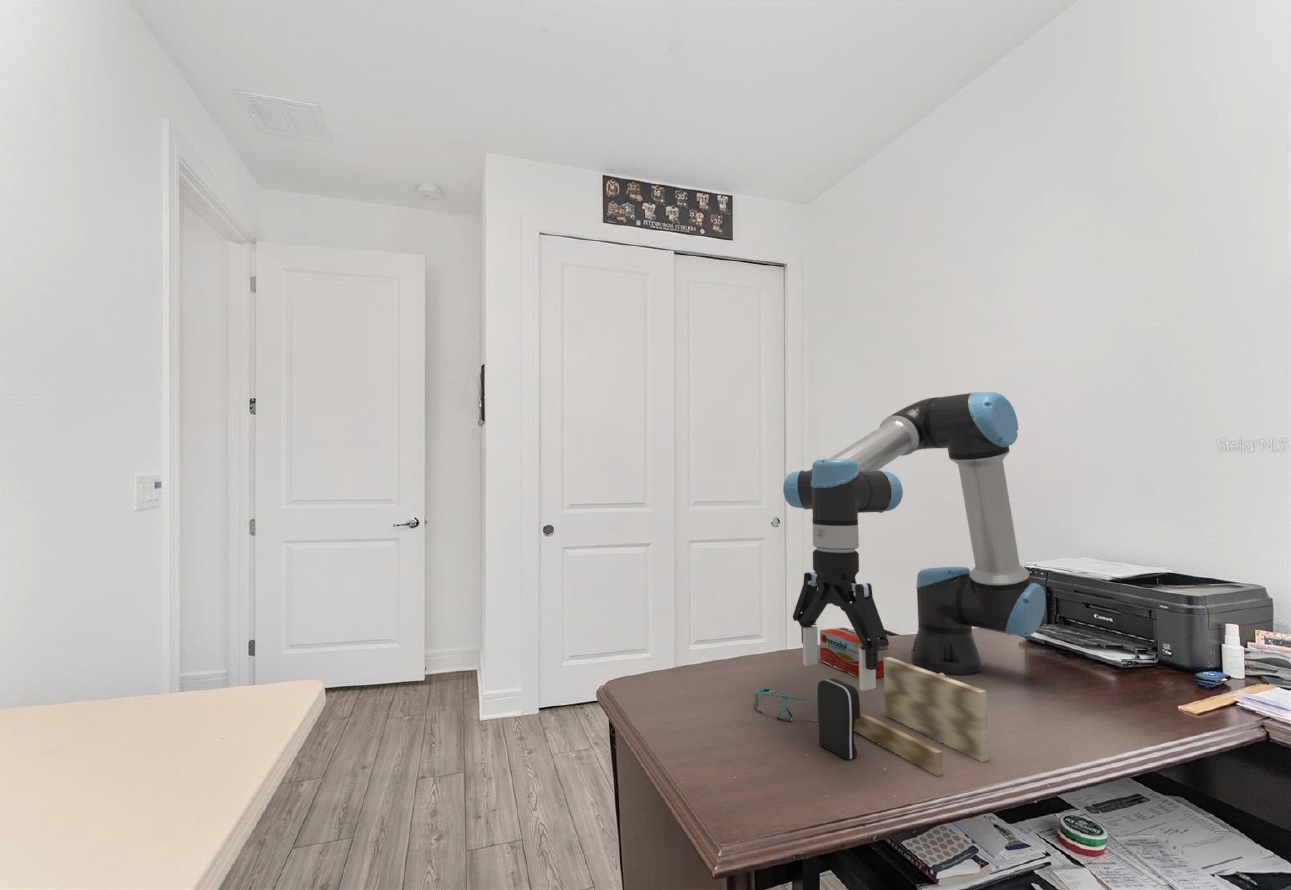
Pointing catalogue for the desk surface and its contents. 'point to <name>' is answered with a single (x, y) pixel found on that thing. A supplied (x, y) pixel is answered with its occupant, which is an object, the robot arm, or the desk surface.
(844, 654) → the medicine box
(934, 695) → the wooden boards
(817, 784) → the desk surface
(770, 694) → the sunglasses
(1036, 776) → the desk surface
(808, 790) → the desk surface
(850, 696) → the battery charger
